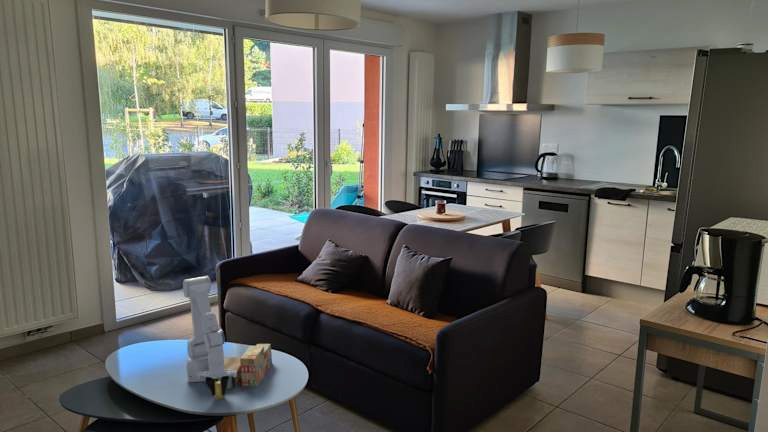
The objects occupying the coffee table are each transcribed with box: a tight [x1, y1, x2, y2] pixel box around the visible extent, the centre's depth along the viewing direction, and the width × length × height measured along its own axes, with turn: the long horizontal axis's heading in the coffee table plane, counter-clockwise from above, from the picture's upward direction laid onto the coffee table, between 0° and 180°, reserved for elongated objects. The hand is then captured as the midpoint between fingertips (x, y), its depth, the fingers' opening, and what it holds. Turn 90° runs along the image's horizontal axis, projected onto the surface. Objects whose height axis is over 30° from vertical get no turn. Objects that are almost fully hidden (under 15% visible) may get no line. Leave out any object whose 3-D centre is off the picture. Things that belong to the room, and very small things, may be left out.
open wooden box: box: [215, 356, 242, 387], centre depth 221 cm, size 11×13×7 cm
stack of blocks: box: [240, 343, 273, 387], centre depth 225 cm, size 21×6×12 cm, turn 175°
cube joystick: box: [214, 377, 235, 401], centre depth 212 cm, size 5×14×6 cm, turn 1°
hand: (219, 394), depth 206 cm, fingers closed on cube joystick, 3 cm apart
